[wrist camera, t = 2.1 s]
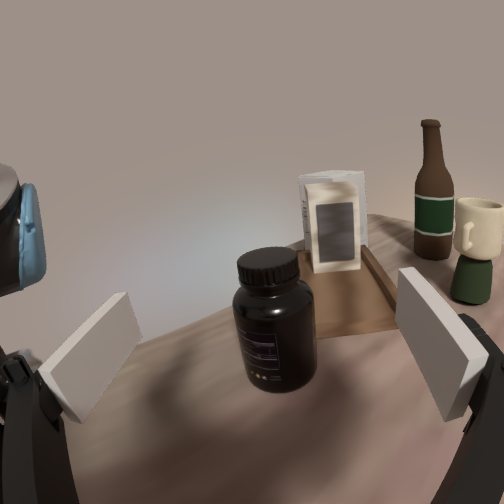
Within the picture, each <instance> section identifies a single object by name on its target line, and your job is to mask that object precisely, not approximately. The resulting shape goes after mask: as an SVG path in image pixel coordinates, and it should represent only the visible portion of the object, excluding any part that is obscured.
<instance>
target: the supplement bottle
mask: <svg viewBox="0 0 504 504" xmlns="http://www.w3.org/2000/svg"><path fill="white" fill-rule="evenodd" d="M237 268H238V273H239V283H240V285H241V287H240V288H239V289H238V290H237V292H236V293H235V295H234V298H233V303H232V307H233V314H234V318H235V323H236V328H237V332H238V337H239V341H240V346H241V351H242V355H243V360H244V364H245V368H246V372H247V375H248V378H249V380H250V381H251V383H252V384H253V385H254V386H256V387H257V388H259V389H261V390H263V391H266V392H269V393H288V392H292V391H295V390H298V389H300V388H301V387H303V386H305V385H306V384H307V383H308V382H309V381H310V380H311V379H312V378H313V376H314V375H315V372H316V369H317V345H316V323H315V305H314V295H313V291H312V289H311V288H310V286H309V285H308V284H307V283H306V282H305V281H304V280H302V279H301V278H300V276H301V272H300V268H299V263H298V255H297V253H296V251H294V250H293V249H291V248H287V247H266V248H260V249H256V250H253V251H250V252H247V253H245V254H243V255H242V256H240V258H239V259H238V261H237Z"/></svg>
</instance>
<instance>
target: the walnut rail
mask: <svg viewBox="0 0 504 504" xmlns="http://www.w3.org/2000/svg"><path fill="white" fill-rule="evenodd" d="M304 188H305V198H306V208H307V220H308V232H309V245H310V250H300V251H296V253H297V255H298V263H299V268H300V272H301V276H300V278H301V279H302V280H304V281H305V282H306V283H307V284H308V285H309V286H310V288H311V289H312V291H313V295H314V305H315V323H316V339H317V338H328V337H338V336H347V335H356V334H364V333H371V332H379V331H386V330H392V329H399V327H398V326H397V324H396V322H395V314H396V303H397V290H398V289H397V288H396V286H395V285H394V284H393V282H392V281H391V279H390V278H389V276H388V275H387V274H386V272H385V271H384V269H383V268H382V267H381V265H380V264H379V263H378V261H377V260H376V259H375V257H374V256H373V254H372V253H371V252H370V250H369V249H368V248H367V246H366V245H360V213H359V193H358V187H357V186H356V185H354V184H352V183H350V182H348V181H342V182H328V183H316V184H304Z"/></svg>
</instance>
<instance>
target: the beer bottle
mask: <svg viewBox="0 0 504 504" xmlns="http://www.w3.org/2000/svg"><path fill="white" fill-rule="evenodd" d="M421 126H422V127H423V146H424V158H423V166H422V168H421V170H420V171H419V173H418V175H417V179H416V182H415V231H414V252H415V253H416V254H417V255H419V256H420V257H421V258H424V259H430V260H436V261H437V260H442V259H447V258H448V257H449V255H450V252H451V246H452V236H453V219H454V185H453V182H452V179H451V175H450V174H449V172H448V170H447V169H446V167H445V163H444V158H443V151H442V143H441V136H440V130H439V128H440V126H441V125H440V123H439V121H437V120H432V119H426V120H422V121H421Z"/></svg>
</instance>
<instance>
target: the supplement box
mask: <svg viewBox="0 0 504 504" xmlns="http://www.w3.org/2000/svg"><path fill="white" fill-rule="evenodd" d="M298 179H299V188H300V197H301V206H302V217H303V228H304V239H305V250H310V245H309V232H308V220H307V208H306V198H305V188H304V184H316V183H328V182H342V181H348V182H350V183H352V184H354V185H356V186H357V187H358V193H359V213H360V245H366V246H367V248H368V239H367V210H366V193H365V179H364V172H363V171H342V170H329V171H323V172H317V173H311V174H305V175H299V176H298Z"/></svg>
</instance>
